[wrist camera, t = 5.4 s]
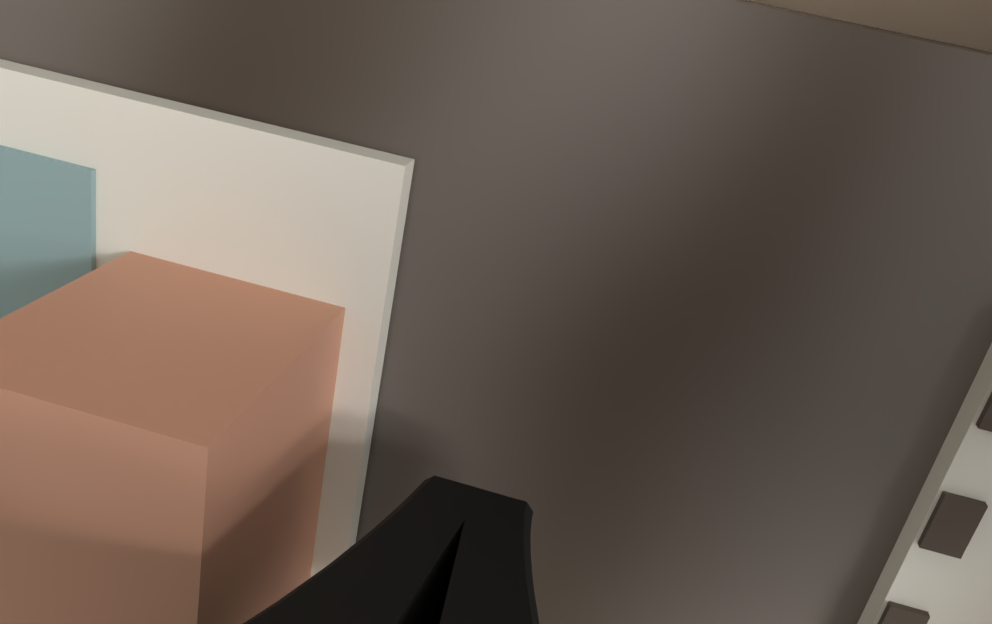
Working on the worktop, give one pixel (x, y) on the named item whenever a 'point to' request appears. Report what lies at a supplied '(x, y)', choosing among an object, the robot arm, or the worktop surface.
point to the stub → (181, 352)
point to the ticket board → (648, 279)
